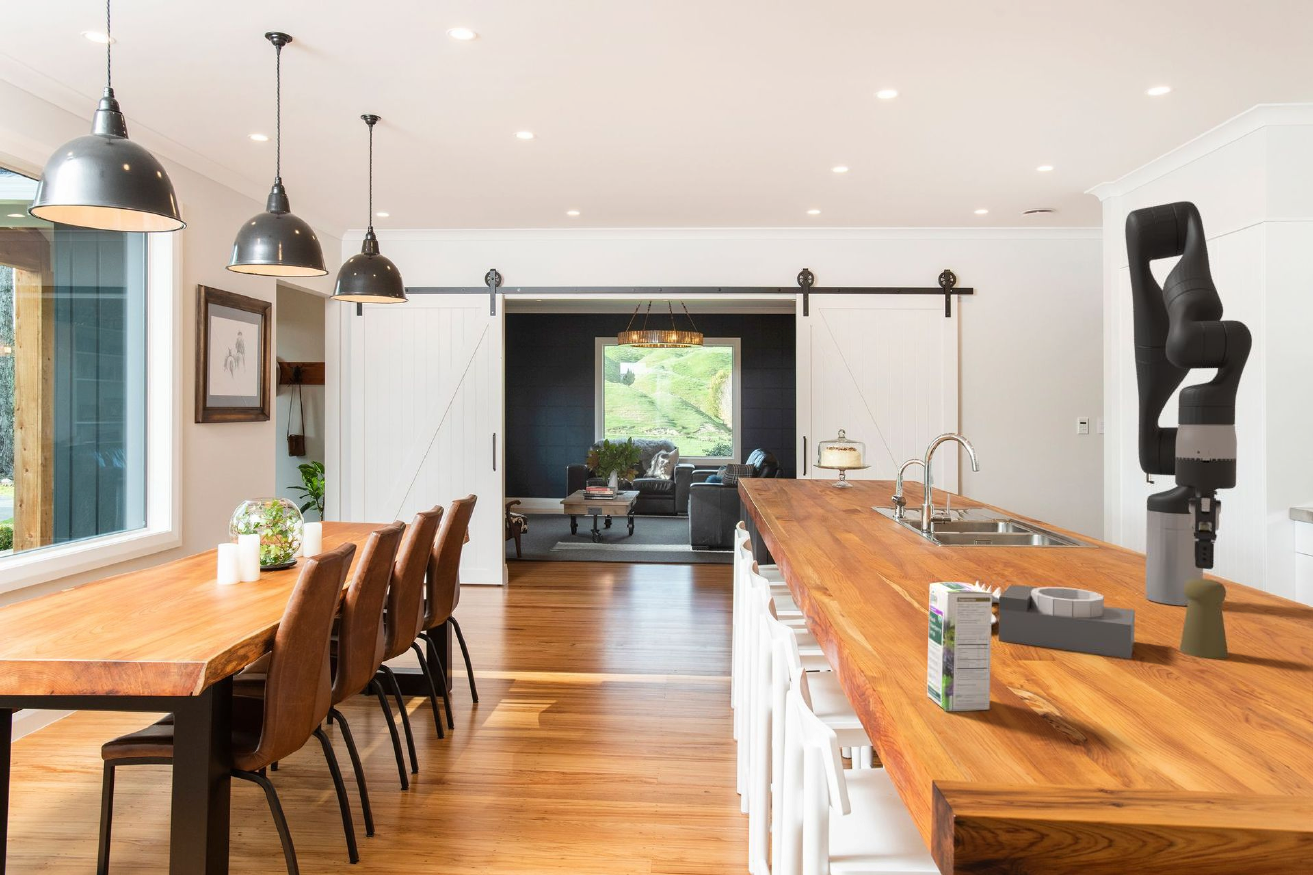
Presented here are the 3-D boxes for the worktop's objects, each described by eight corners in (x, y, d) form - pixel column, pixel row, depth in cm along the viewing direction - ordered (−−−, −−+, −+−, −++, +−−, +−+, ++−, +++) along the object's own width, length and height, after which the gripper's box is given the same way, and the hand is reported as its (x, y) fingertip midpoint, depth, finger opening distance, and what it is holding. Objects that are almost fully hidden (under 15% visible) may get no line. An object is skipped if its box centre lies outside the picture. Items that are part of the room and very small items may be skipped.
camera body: (1010, 625, 137) (1011, 581, 137) (1134, 641, 127) (1135, 593, 127) (998, 640, 128) (999, 593, 128) (1130, 659, 118) (1131, 607, 118)
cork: (1236, 660, 118) (1237, 584, 117) (1190, 657, 119) (1191, 582, 118) (1216, 648, 123) (1217, 576, 123) (1172, 646, 125) (1173, 575, 124)
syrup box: (925, 695, 103) (926, 581, 102) (970, 694, 103) (971, 581, 103) (945, 712, 97) (946, 591, 96) (992, 710, 97) (993, 590, 97)
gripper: (1176, 453, 129) (1174, 555, 129) (1175, 456, 117) (1173, 568, 117) (1234, 454, 124) (1232, 560, 125) (1239, 457, 112) (1237, 574, 113)
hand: (1203, 564), depth 121 cm, fingers open, 8 cm apart
